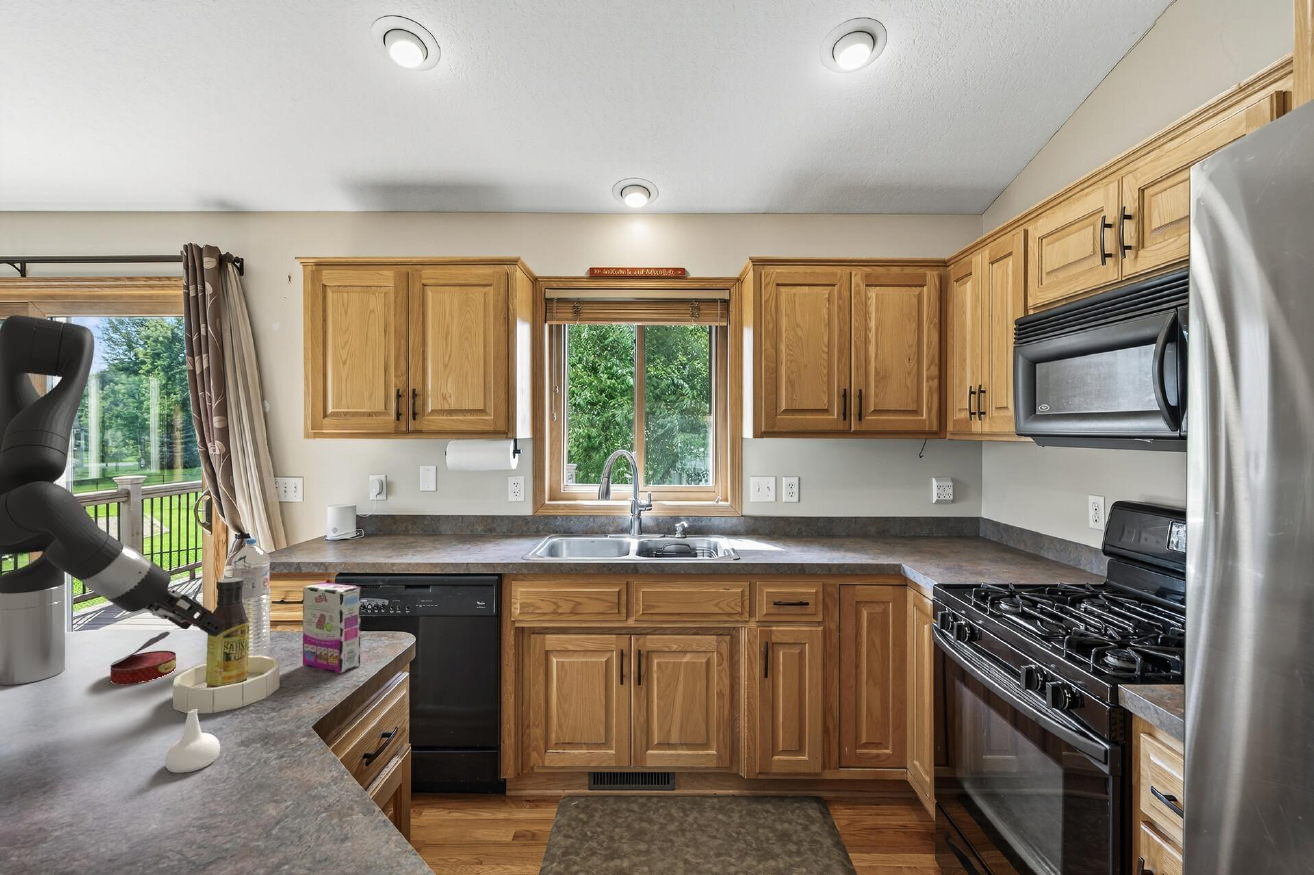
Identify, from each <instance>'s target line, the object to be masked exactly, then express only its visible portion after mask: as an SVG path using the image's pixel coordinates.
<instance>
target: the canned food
mask: <svg viewBox="0 0 1314 875" xmlns="http://www.w3.org/2000/svg"><path fill="white" fill-rule="evenodd" d="M170 633H171V632H170V631H164V632H161V633H160V634H158V635H156V636H154V637H151V638H150V639H149V640H147V641H146V642H144V643H143V645H142V646H140V647H139V648H138V649H137V650H136V651H134V652H133V653H130V654H128V655H126V656H123V657H122V658H120V659H119V658H118V660H115V661H113V662H112V663H111V664H110V665H109V667H110V682H111V681H112V682H113V683H112V682H111V683H112V684H114V683H115V684H114V685H121V684H125V685H134V684H135V683H136V684H140V683H139V682H142V681H147V682H150V681H149V680H151V681H153V680H152V679H155V680H157V678H158V677H161V678H163V677H162V676H164V675H167V674H169V673H171V672H172V671H174V669H175V668H176V669H177V654H176V652H175V651H172V650H154V651H147V652H141V651H143V650H145V649H147V648H149V647H150V646H152V645H154V644H156V643H158V642H160V641H162V640H164V639H166V637H169V635H170ZM139 652H140V653H139ZM174 672H175V671H174ZM172 673H173V672H172ZM172 673H171V674H172ZM169 675H170V674H169ZM167 676H168V675H167ZM164 677H165V676H164ZM158 679H159V678H158ZM142 683H143V682H142ZM136 684H135V685H136Z"/></svg>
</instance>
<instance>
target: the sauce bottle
mask: <svg viewBox="0 0 1314 875" xmlns="http://www.w3.org/2000/svg"><path fill="white" fill-rule="evenodd" d="M243 586H244V580H243V579H242V578H232V577H229V578H223V579H222V578H221V579H218V580H217V581H216V591H217V601H216V607H215V608H214V610H213V612H212V613H213V614H212V615H211V617H212V618H214V619H215V620H217V621H218V622H220V623H221V624H223V625H224V627H223V629H222V630H221V631H220V632H219V634H218V635H217V636H211V635H209V634H208V633H207V639H206V643H207V644H206V663H207V666H206V683H207V688H216V687H221V686H226V685H231V684H237V683H242V682H244V681H247V677H248V654H249V620H248V618H247V616H246V613H245V610H244V606H243V603H242V588H243Z"/></svg>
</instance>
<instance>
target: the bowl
mask: <svg viewBox="0 0 1314 875" xmlns="http://www.w3.org/2000/svg"><path fill="white" fill-rule="evenodd" d="M206 666H207V662H206V663H204V664H200V665H196V666H193V667H191V668H189V669H187V670H186V671H184V672H182V673H180V674H179V675H177V676H175V677H174V680H173V684H172V708H173V710H176V711H178V710H179V712H180V713H181V712H182V713H185V714H186V713H187V714H188V712H190V711H191V710H192V709H198V710H197V714H213V713H214V714H215V713H219V712H220V713H221V712H224V711H229V710H230V711H231V710H235V709H238V708H242V707H246V706H248V705H251V704H253V703H256V702H258V701H261V700H264V699H266V698H268V697H270V696H271V695H272V694H273V693H274V692H276V691H277V690H278V689H279V688H280V662H279V658H275V657H272V656H269V655H266V656H248V677H247V681H244V682H242V683H237V684H231V685H226V686H221V687H216V688H207V683H206Z"/></svg>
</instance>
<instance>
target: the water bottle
mask: <svg viewBox="0 0 1314 875" xmlns="http://www.w3.org/2000/svg"><path fill="white" fill-rule="evenodd" d="M257 541H258V540H257V538H246V539H245V544H246V546H245V547H243V548H242V549H240V550H239V551H238V552H237V553H236V554H235V555H234V557H233V558H232V559H231V569H232V571H231V572H232V573H231V574H232V575H231V576H232V577H231V578H242V579H243V580H244V586H243V588H242V603H243V606H244V610H245V613H246V616H247V618H248V620H249V654H248V656H268V655H269V652H270V649H271V647H270V646H271V639H270V638H271V627H270V626H271V606H270V605H271V592H270V564H271V557H270V555H269V553H267V551H266V550H265V549H263V548H262V547H260V546H258V545H257Z"/></svg>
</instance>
